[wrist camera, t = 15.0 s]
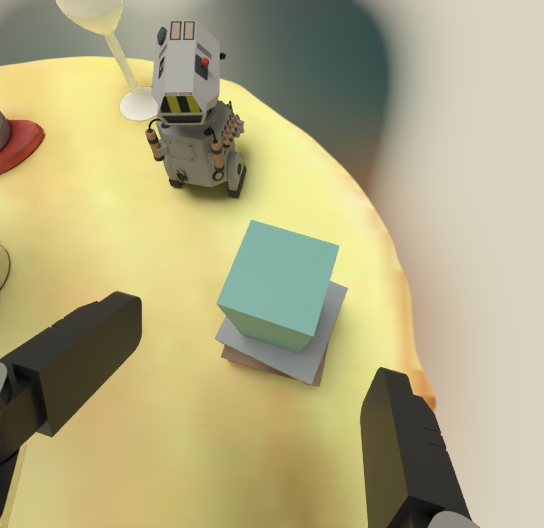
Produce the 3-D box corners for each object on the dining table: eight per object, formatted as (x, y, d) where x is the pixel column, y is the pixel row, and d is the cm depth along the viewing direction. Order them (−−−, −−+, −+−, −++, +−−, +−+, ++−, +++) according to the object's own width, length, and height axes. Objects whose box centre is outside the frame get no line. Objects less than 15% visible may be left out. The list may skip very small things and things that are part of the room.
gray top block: (224, 344, 27) (214, 338, 23) (261, 269, 30) (259, 251, 25) (305, 383, 26) (311, 385, 22) (337, 301, 28) (348, 288, 24)
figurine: (256, 139, 41) (246, 14, 27) (235, 209, 37) (210, 107, 23) (193, 128, 42) (152, 3, 28) (166, 197, 38) (101, 90, 24)
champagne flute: (135, 128, 42) (-29, -160, 19) (111, 102, 44) (-64, -187, 21) (174, 104, 43) (64, -188, 21) (149, 80, 45) (24, -212, 23)
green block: (240, 334, 23) (216, 303, 14) (260, 280, 24) (251, 219, 15) (297, 354, 22) (313, 336, 13) (314, 297, 24) (339, 245, 15)
